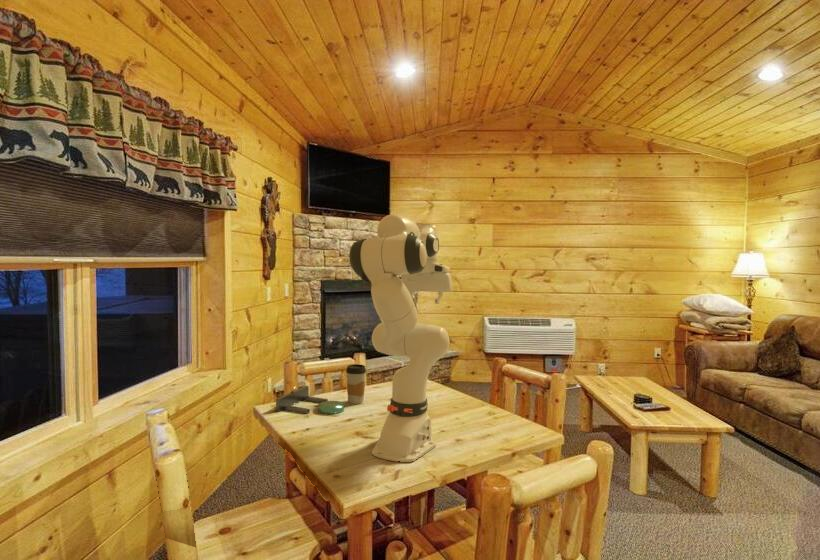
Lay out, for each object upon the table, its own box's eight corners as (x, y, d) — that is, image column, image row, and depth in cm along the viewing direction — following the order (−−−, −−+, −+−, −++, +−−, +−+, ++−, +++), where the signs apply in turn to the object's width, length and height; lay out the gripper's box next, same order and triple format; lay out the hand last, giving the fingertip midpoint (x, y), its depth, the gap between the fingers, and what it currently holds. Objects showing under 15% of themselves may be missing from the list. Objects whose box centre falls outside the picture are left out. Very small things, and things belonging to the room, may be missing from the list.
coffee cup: (355, 397, 194) (355, 363, 194) (369, 401, 189) (370, 366, 189) (341, 402, 187) (341, 366, 187) (356, 406, 183) (356, 369, 182)
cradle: (303, 415, 170) (303, 397, 170) (275, 411, 175) (275, 393, 175) (331, 400, 189) (331, 384, 189) (305, 397, 194) (305, 381, 193)
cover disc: (335, 416, 171) (335, 410, 171) (313, 413, 175) (313, 406, 175) (348, 408, 181) (348, 402, 180) (326, 405, 184) (326, 399, 184)
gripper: (398, 266, 175) (397, 302, 175) (449, 267, 167) (448, 305, 168) (404, 266, 181) (403, 301, 181) (454, 267, 173) (453, 303, 174)
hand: (425, 303), depth 174 cm, fingers open, 8 cm apart
